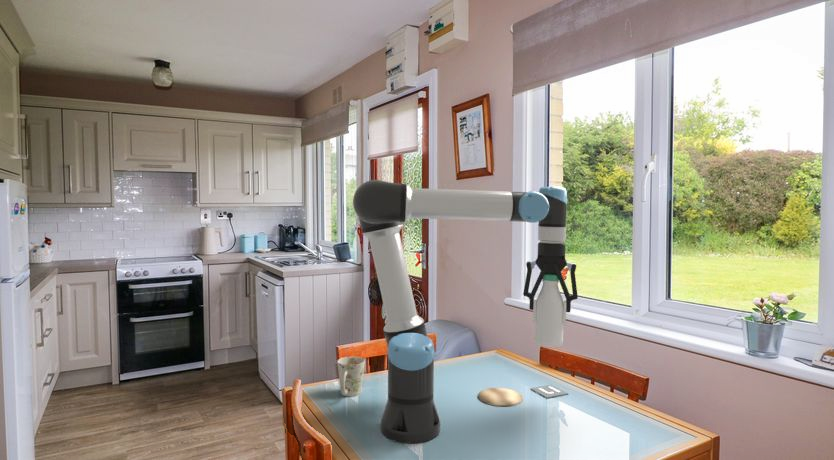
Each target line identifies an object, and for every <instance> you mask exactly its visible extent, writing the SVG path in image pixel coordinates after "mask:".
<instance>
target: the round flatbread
mask: <svg viewBox="0 0 834 460" xmlns="http://www.w3.org/2000/svg"><path fill="white" fill-rule="evenodd" d="M477 397H478V399H479V401H481V403H484V404H487V405H490V406H494V407H513V406H518V405H519V404H521V403H522V401H523V399H524V398H523V395H522V394H521V393H520V392H518V391H516V390H514V389H509V388H505V387H488V388H483V389H482V390H480V391H479V392H478V396H477ZM517 404H518V405H517Z"/></svg>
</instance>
